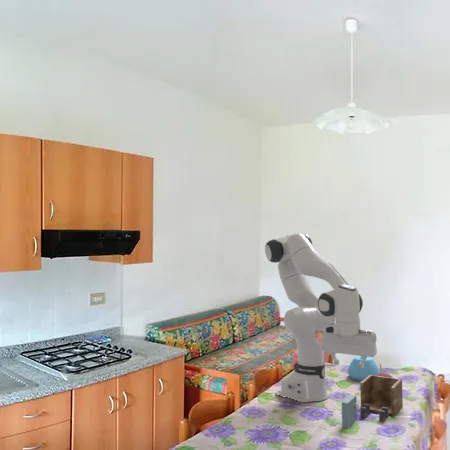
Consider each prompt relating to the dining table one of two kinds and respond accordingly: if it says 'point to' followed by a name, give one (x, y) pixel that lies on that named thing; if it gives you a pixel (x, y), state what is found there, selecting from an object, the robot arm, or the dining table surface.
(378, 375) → the cupcake
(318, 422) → the dining table surface
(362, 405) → the cabinet
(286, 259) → the robot arm
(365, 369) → the sugar bowl
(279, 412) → the dining table surface
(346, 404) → the door
